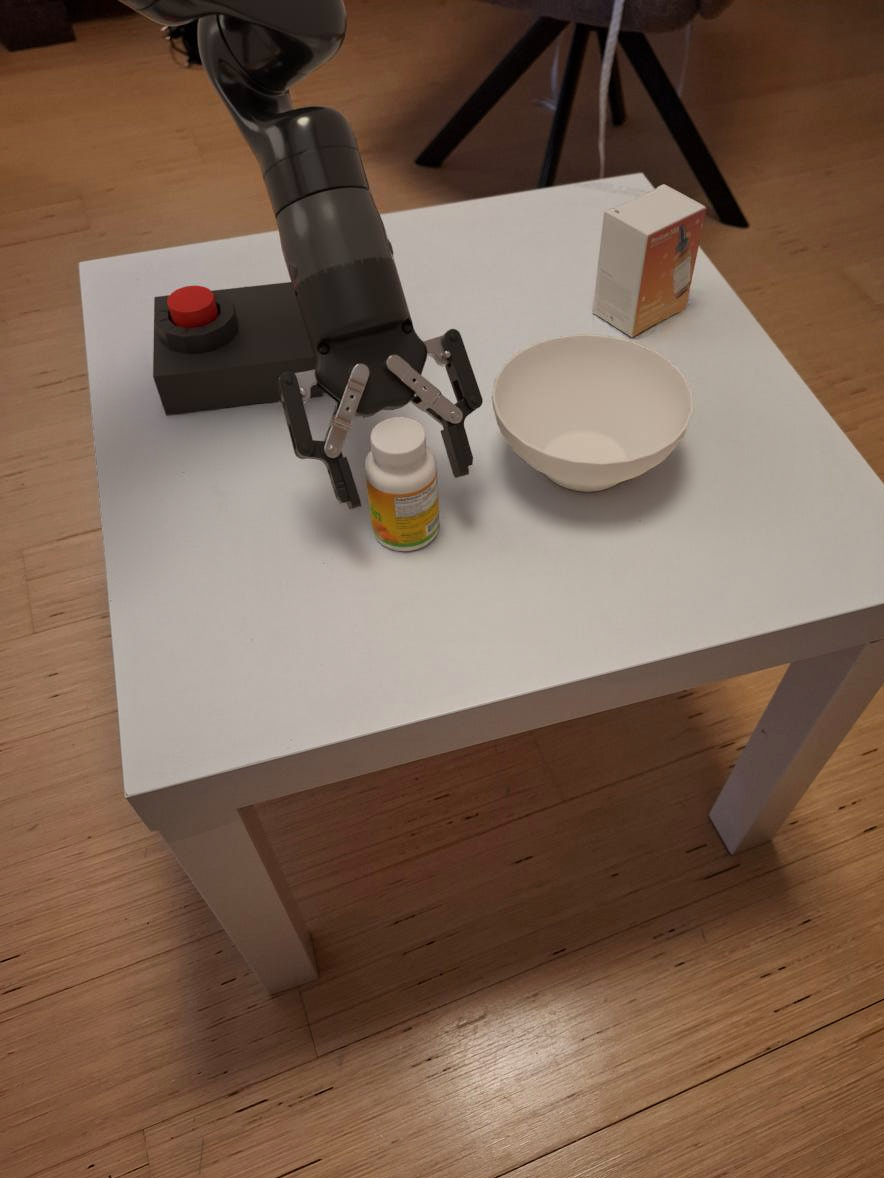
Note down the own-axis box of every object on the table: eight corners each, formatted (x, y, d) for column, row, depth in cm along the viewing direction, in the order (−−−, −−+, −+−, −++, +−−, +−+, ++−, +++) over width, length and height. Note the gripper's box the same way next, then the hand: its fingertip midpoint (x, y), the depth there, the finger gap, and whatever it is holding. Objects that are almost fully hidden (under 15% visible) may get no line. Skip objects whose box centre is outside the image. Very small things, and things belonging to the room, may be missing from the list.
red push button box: (165, 415, 84) (146, 358, 79) (166, 335, 91) (148, 279, 86) (323, 395, 85) (313, 339, 80) (311, 318, 92) (302, 262, 87)
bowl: (597, 560, 73) (606, 495, 68) (452, 463, 80) (449, 396, 74) (716, 459, 80) (734, 392, 74) (574, 377, 87) (580, 310, 81)
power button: (172, 331, 82) (166, 314, 80) (172, 305, 84) (167, 287, 83) (218, 326, 82) (214, 308, 81) (217, 300, 84) (213, 282, 83)
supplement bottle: (365, 512, 76) (352, 418, 69) (429, 498, 77) (423, 403, 70) (381, 559, 73) (369, 466, 65) (447, 544, 74) (444, 450, 66)
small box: (631, 339, 90) (646, 236, 82) (590, 313, 93) (601, 210, 84) (688, 308, 93) (709, 205, 85) (647, 283, 96) (664, 181, 87)
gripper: (424, 265, 73) (482, 470, 75) (243, 307, 69) (312, 520, 72) (448, 234, 65) (511, 462, 68) (248, 280, 62) (323, 517, 65)
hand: (409, 492), depth 70 cm, fingers open, 8 cm apart
